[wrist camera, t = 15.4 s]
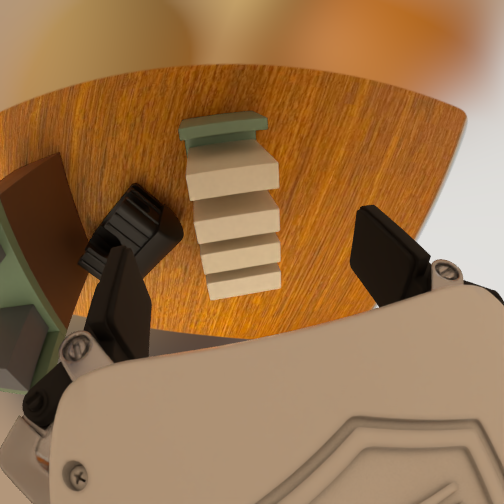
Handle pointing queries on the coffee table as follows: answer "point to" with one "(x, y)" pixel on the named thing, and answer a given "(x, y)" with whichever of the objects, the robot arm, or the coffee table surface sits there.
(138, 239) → the end cap
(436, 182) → the coffee table surface
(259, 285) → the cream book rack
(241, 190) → the cream book
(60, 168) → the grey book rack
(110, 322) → the robot arm
